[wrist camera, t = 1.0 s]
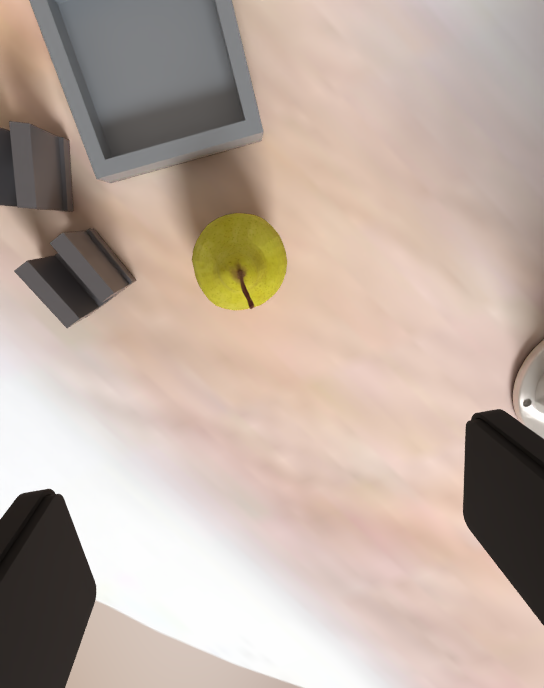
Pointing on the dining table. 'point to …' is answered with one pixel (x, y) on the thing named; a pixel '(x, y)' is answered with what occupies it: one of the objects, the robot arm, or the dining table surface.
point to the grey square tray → (151, 80)
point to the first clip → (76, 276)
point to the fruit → (239, 261)
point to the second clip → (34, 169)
